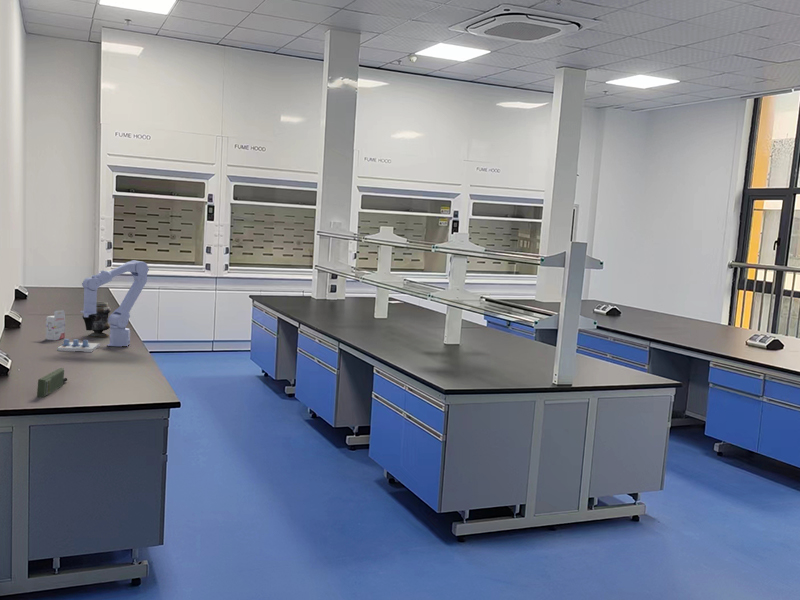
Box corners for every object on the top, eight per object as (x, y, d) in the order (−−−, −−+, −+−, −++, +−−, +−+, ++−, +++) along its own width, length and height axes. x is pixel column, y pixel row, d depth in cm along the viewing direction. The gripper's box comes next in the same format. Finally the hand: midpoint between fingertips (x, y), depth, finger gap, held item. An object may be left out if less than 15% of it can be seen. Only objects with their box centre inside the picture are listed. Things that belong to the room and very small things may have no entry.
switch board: (99, 346, 356) (99, 343, 356) (91, 352, 341) (91, 348, 340) (67, 345, 354) (67, 341, 354) (57, 350, 338) (57, 347, 338)
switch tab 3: (89, 345, 348) (89, 339, 348) (88, 346, 345) (88, 340, 345) (82, 345, 348) (82, 339, 347) (81, 346, 345) (81, 340, 345)
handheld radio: (35, 397, 254) (60, 382, 279) (44, 398, 255) (69, 383, 279) (36, 378, 254) (62, 365, 278) (46, 379, 254) (71, 366, 279)
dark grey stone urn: (109, 334, 394) (110, 301, 393) (110, 337, 384) (112, 304, 382) (85, 333, 389) (86, 300, 387) (86, 337, 378) (87, 303, 377)
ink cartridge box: (56, 337, 372) (57, 308, 371) (64, 338, 371) (65, 309, 370) (45, 339, 364) (46, 310, 363) (53, 340, 363) (54, 311, 362)
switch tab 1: (70, 344, 347) (71, 338, 346) (69, 345, 344) (69, 339, 344) (63, 344, 346) (63, 338, 346) (62, 345, 343) (62, 339, 343)
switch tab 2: (80, 345, 347) (80, 339, 347) (78, 346, 345) (78, 340, 344) (73, 344, 347) (73, 339, 347) (71, 345, 344) (71, 339, 344)
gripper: (85, 300, 357) (84, 327, 358) (77, 303, 343) (76, 332, 344) (100, 301, 358) (99, 328, 359) (93, 304, 344) (91, 332, 345)
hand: (89, 330), depth 352 cm, fingers closed
